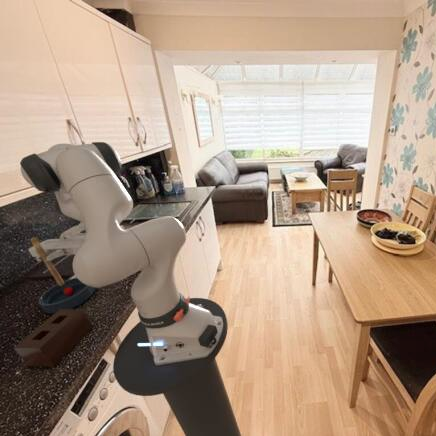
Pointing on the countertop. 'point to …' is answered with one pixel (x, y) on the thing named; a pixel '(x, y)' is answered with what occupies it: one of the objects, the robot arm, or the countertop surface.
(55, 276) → the stirring stick
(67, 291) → the cherry tomato
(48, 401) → the countertop surface
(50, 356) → the utensil block
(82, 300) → the bowl
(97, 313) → the countertop surface
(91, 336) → the countertop surface
